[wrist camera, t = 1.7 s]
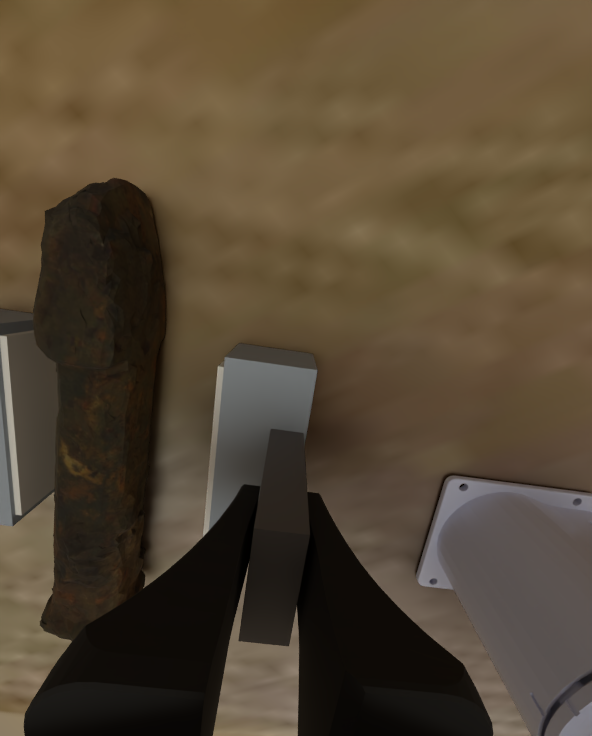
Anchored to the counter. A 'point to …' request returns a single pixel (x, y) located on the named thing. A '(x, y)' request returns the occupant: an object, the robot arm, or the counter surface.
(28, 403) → the fixed jaw
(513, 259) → the counter surface
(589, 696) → the robot arm
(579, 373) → the counter surface
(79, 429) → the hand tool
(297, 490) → the free jaw
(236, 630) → the counter surface
